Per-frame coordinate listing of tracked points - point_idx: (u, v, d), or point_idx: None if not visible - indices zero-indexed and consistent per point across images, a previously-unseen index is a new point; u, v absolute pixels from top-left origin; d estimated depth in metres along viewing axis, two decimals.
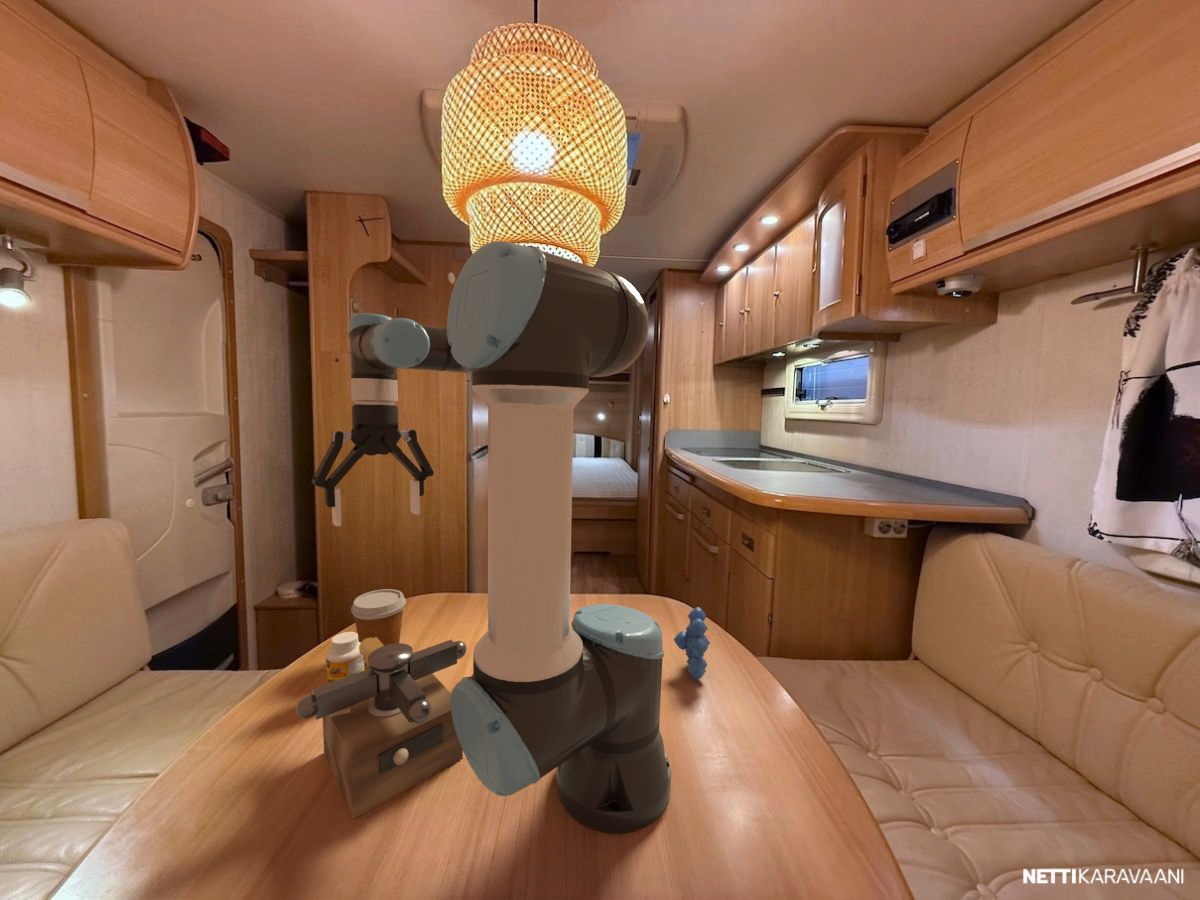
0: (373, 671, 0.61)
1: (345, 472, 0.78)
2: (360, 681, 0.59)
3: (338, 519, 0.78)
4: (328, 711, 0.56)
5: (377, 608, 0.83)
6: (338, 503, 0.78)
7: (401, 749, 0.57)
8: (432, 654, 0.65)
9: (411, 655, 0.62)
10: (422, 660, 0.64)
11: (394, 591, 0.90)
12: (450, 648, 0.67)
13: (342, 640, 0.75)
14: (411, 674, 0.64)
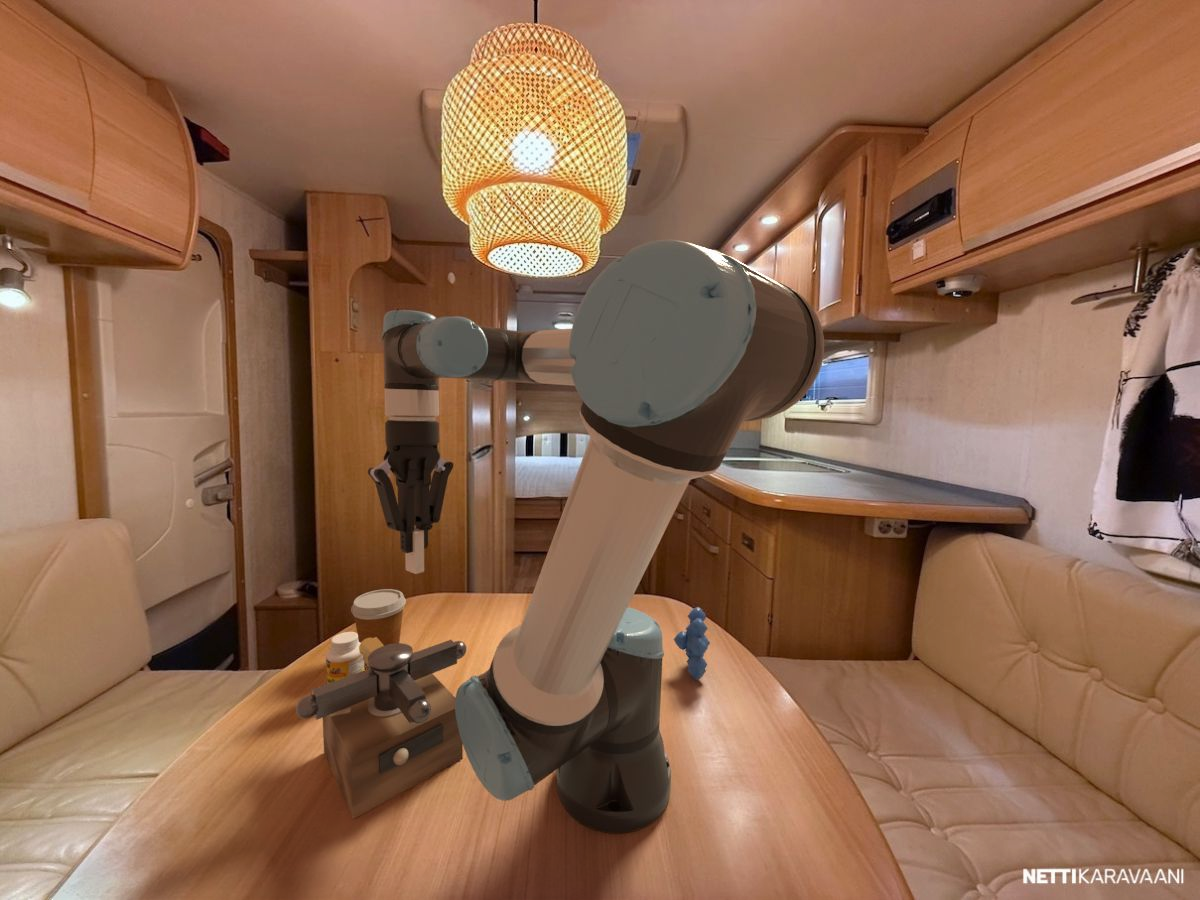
0: (373, 671, 0.61)
1: (412, 508, 0.68)
2: (360, 681, 0.59)
3: (417, 566, 0.69)
4: (328, 711, 0.56)
5: (377, 608, 0.83)
6: (417, 548, 0.69)
7: (401, 749, 0.57)
8: (432, 654, 0.65)
9: (411, 655, 0.62)
10: (422, 660, 0.64)
11: (394, 591, 0.90)
12: (450, 648, 0.67)
13: (342, 640, 0.75)
14: (411, 674, 0.64)
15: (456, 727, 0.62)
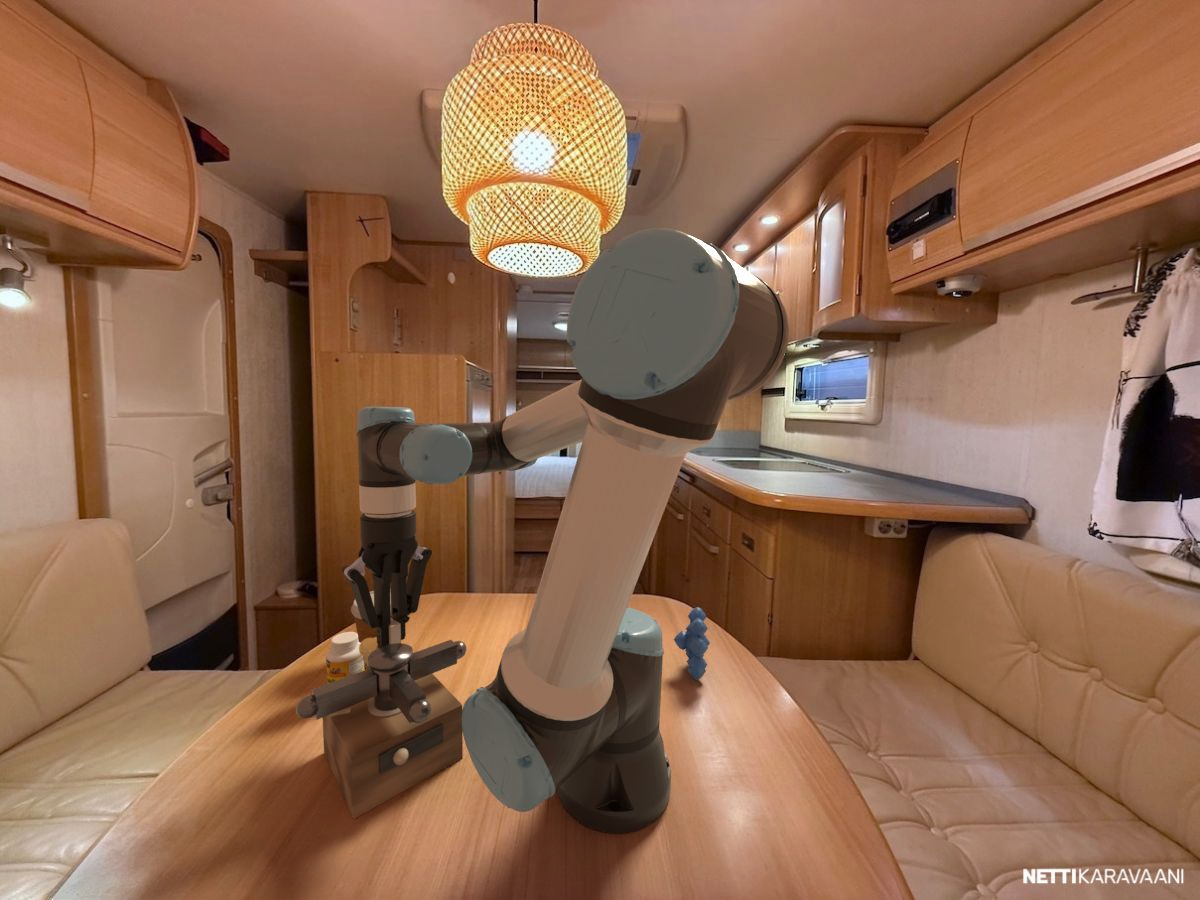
0: (373, 671, 0.61)
1: (388, 603, 0.66)
2: (360, 681, 0.59)
3: None
4: (328, 711, 0.56)
5: None
6: (394, 641, 0.67)
7: (401, 749, 0.57)
8: (432, 654, 0.65)
9: (411, 655, 0.62)
10: (422, 660, 0.64)
11: None
12: (450, 648, 0.67)
13: (342, 640, 0.75)
14: (411, 674, 0.64)
15: (456, 727, 0.62)
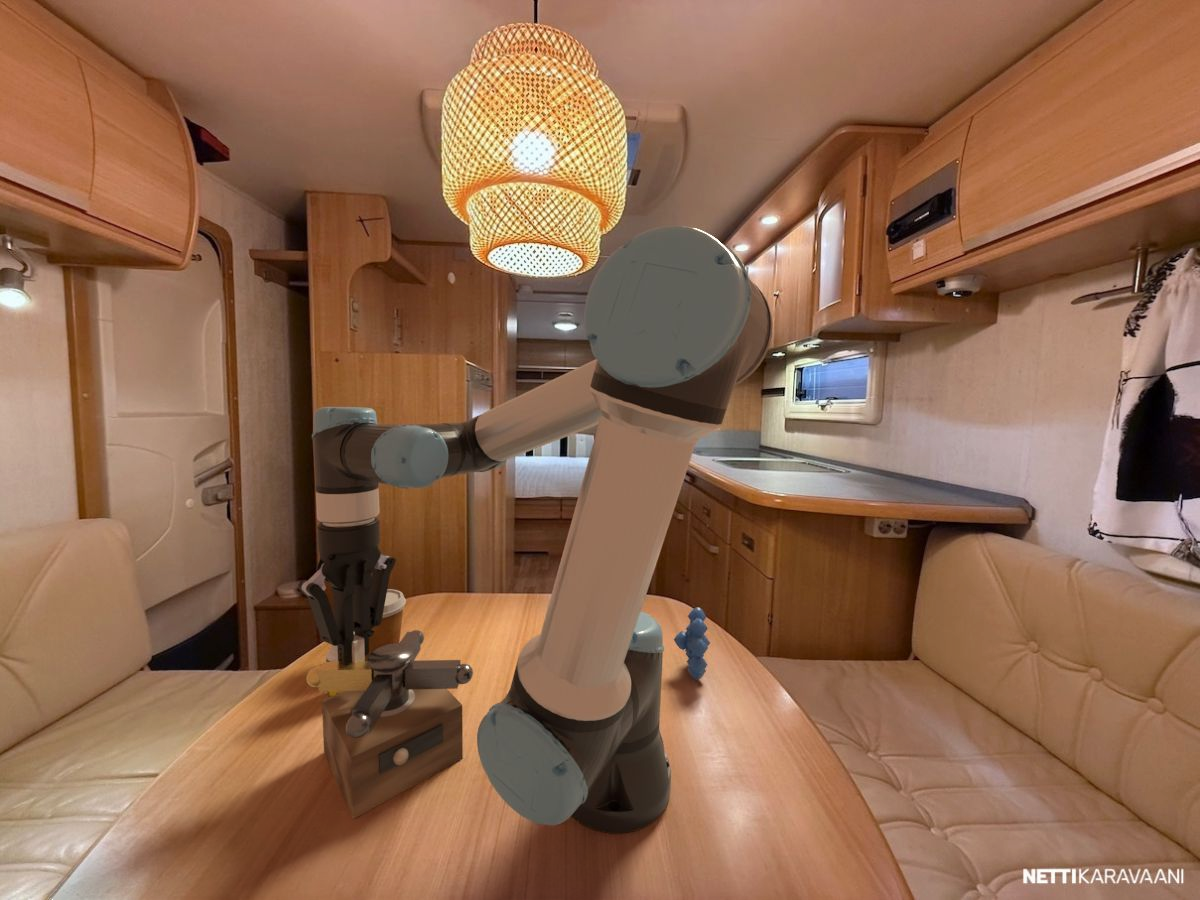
0: (384, 674, 0.60)
1: (351, 617, 0.62)
2: (386, 684, 0.58)
3: None
4: (374, 721, 0.55)
5: None
6: (357, 658, 0.63)
7: (401, 749, 0.57)
8: (411, 644, 0.68)
9: None
10: None
11: (394, 591, 0.90)
12: (418, 636, 0.71)
13: None
14: None
15: (456, 727, 0.62)
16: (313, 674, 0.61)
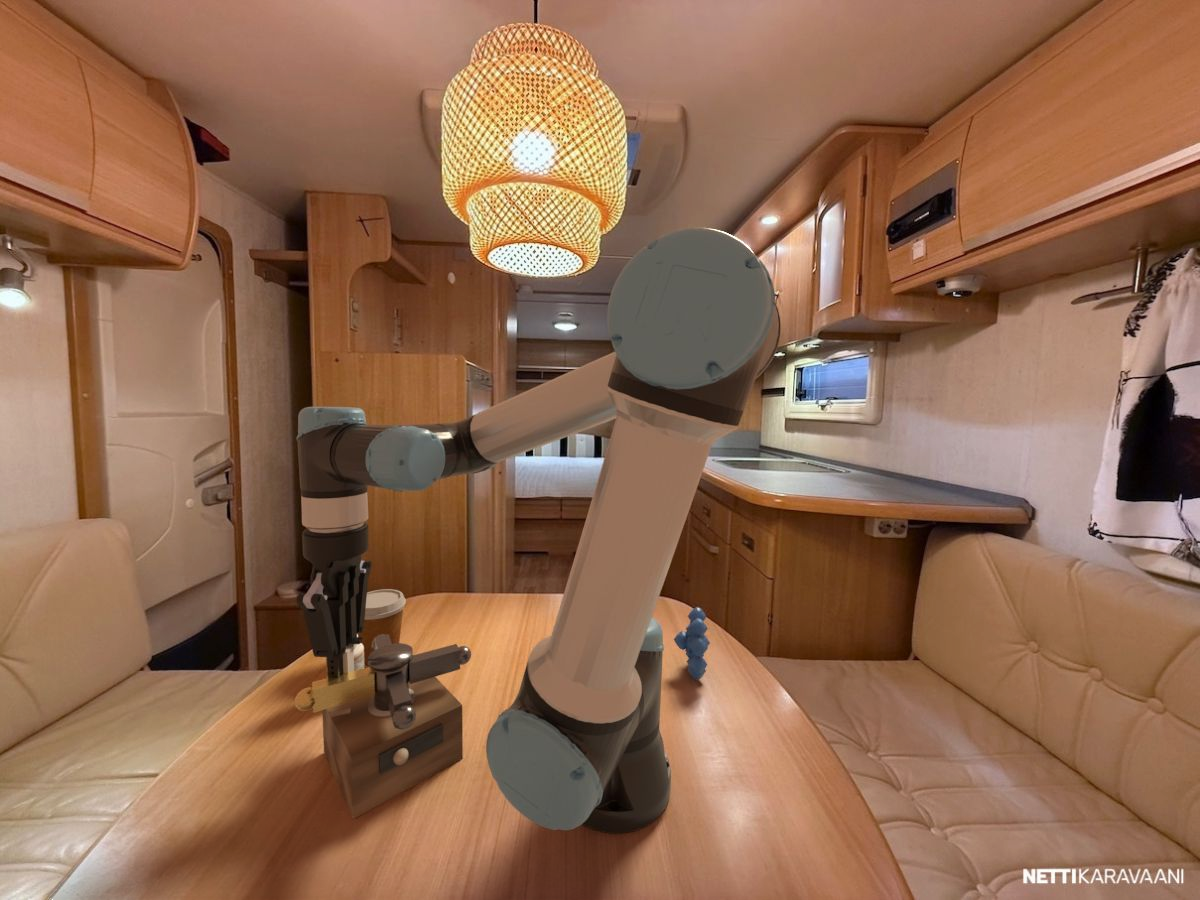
0: (394, 673, 0.61)
1: (344, 626, 0.59)
2: (404, 679, 0.60)
3: None
4: None
5: (377, 608, 0.83)
6: (349, 668, 0.61)
7: (401, 749, 0.57)
8: None
9: None
10: None
11: (394, 591, 0.90)
12: (389, 638, 0.70)
13: None
14: None
15: (456, 727, 0.62)
16: (306, 696, 0.56)
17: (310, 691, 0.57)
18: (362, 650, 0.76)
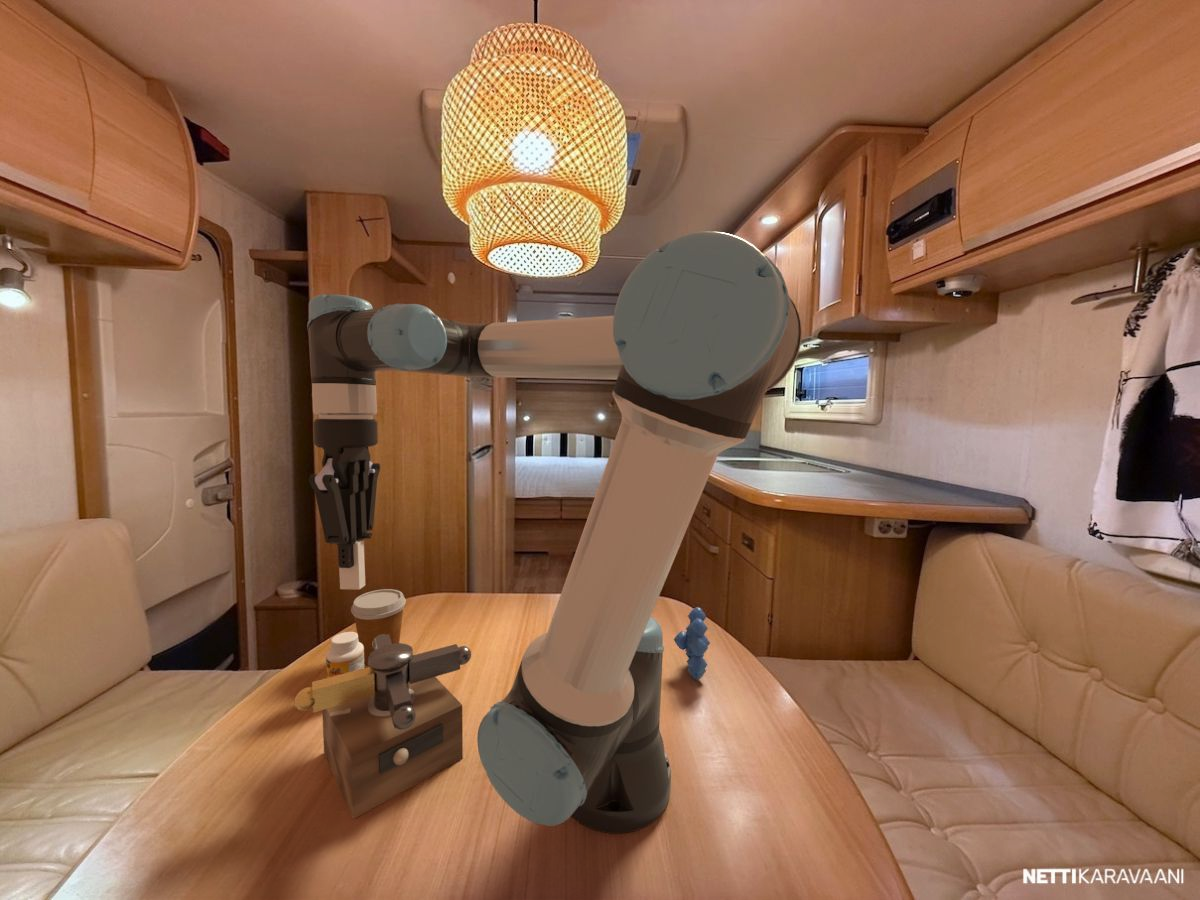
0: (394, 673, 0.61)
1: (354, 516, 0.61)
2: (404, 679, 0.60)
3: (360, 580, 0.62)
4: None
5: (377, 608, 0.83)
6: (360, 560, 0.62)
7: (401, 749, 0.57)
8: None
9: None
10: None
11: (394, 591, 0.90)
12: (389, 638, 0.70)
13: (342, 640, 0.75)
14: None
15: (456, 727, 0.62)
16: (306, 696, 0.56)
17: (310, 691, 0.57)
18: (362, 650, 0.76)
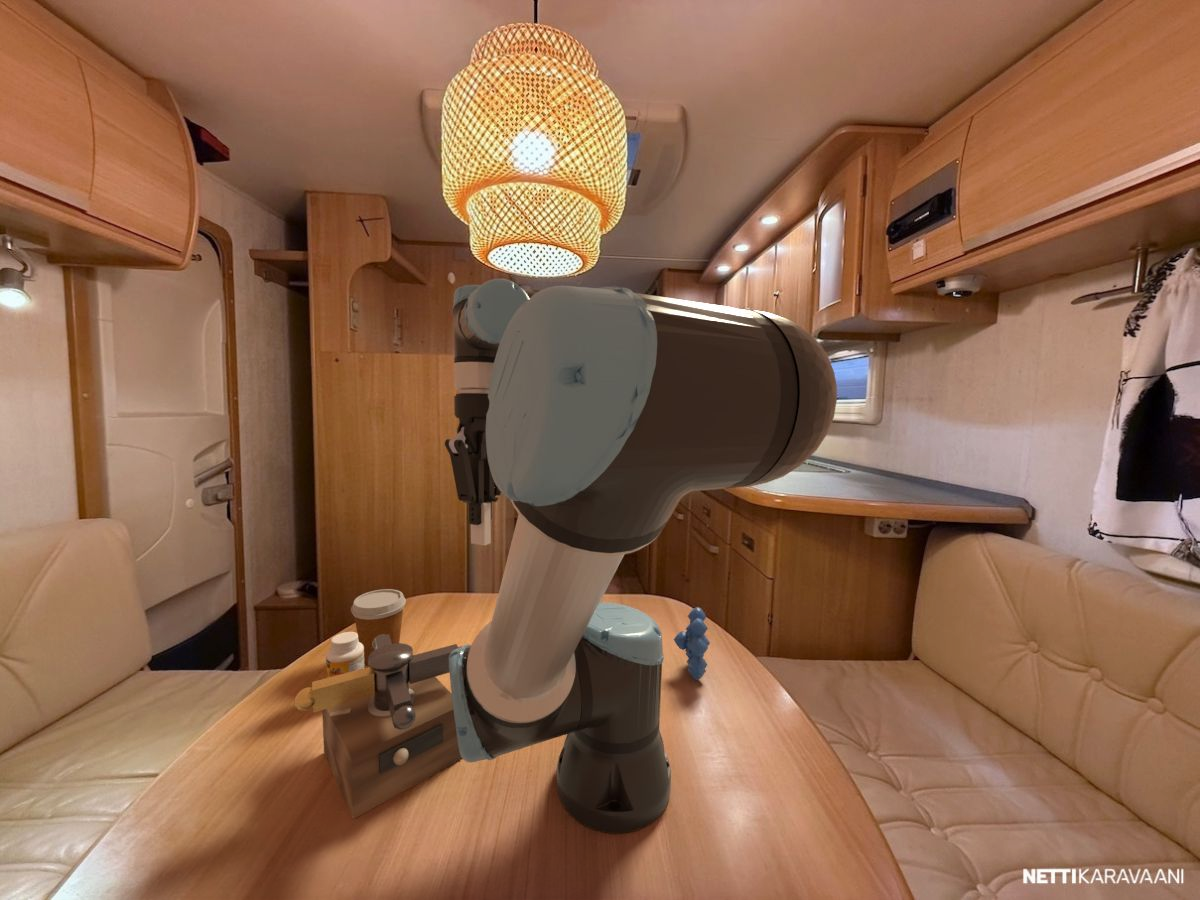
0: (394, 673, 0.61)
1: (482, 480, 0.69)
2: (404, 679, 0.60)
3: (486, 537, 0.70)
4: None
5: (377, 608, 0.83)
6: (486, 519, 0.70)
7: (401, 749, 0.57)
8: None
9: None
10: None
11: (394, 591, 0.90)
12: (389, 638, 0.70)
13: (342, 640, 0.75)
14: None
15: None
16: (306, 696, 0.56)
17: (310, 691, 0.57)
18: (362, 650, 0.76)
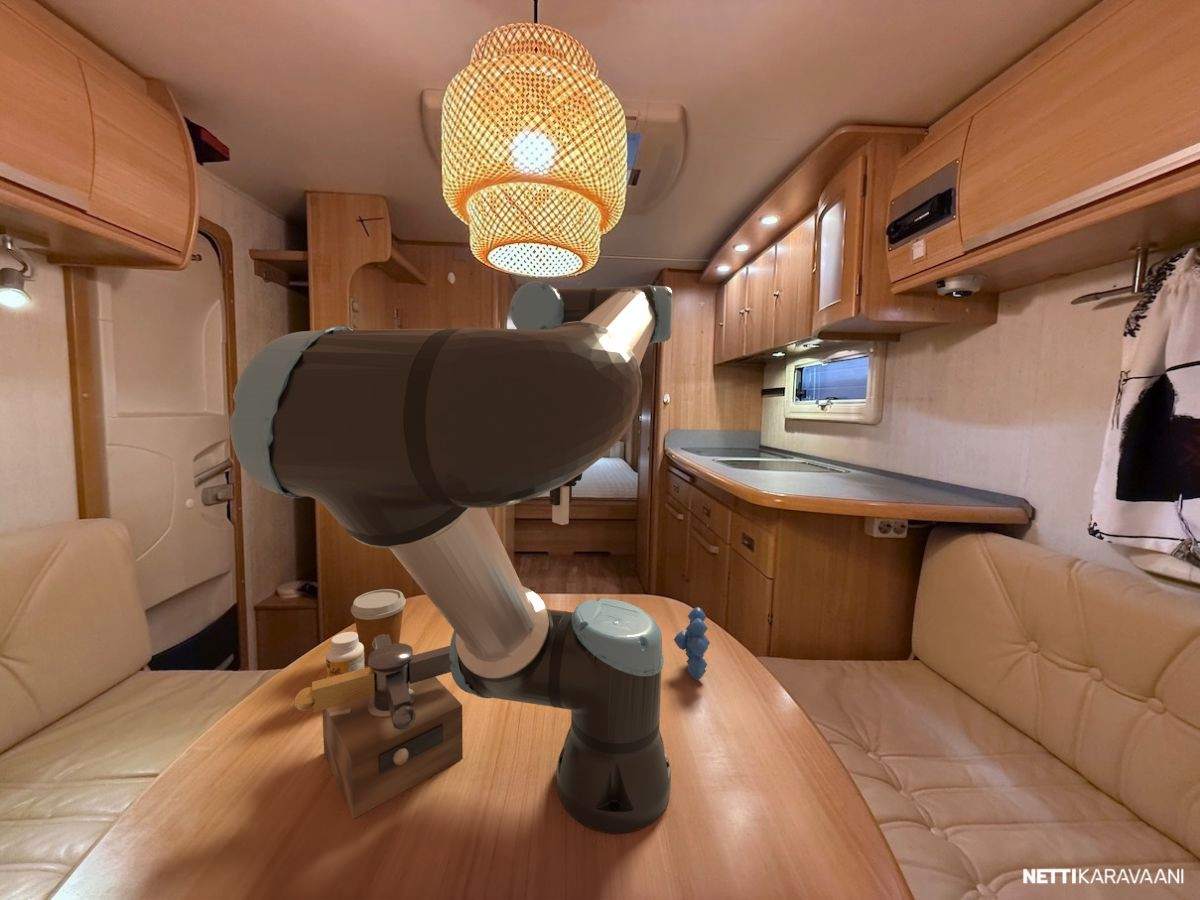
0: (394, 673, 0.61)
1: None
2: (404, 679, 0.60)
3: (563, 517, 0.77)
4: None
5: (377, 608, 0.83)
6: (564, 501, 0.77)
7: (401, 749, 0.57)
8: None
9: None
10: None
11: (394, 591, 0.90)
12: (389, 638, 0.70)
13: (342, 640, 0.75)
14: None
15: (456, 727, 0.62)
16: (306, 696, 0.56)
17: (310, 691, 0.57)
18: (362, 650, 0.76)
